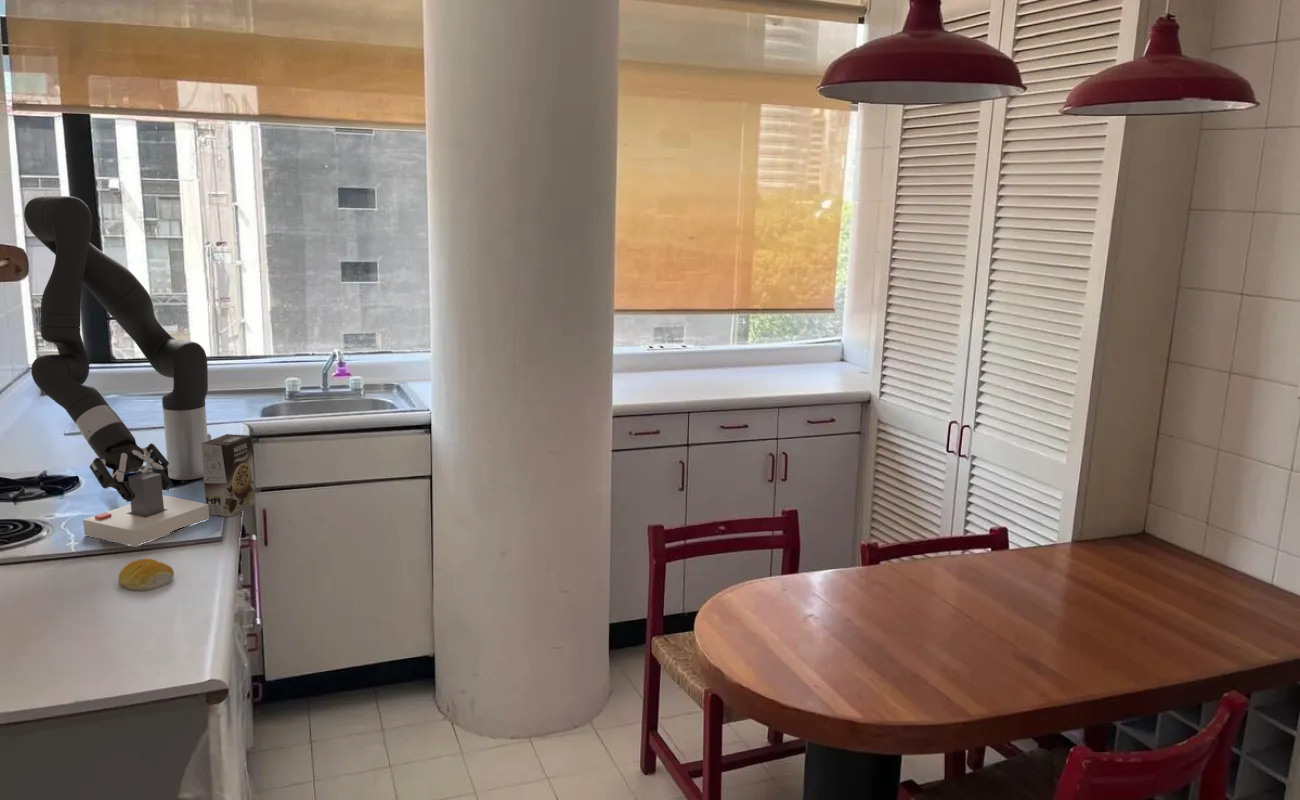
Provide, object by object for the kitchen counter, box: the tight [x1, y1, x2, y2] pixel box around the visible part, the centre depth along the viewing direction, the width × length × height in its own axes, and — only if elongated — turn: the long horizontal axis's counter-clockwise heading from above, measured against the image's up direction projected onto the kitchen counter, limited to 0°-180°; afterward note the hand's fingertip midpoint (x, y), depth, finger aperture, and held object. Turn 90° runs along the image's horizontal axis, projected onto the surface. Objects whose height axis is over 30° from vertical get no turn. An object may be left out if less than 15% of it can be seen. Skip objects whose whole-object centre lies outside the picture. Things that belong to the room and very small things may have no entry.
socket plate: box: [82, 494, 210, 548], centre depth 193 cm, size 18×14×4 cm
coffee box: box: [202, 433, 256, 518], centre depth 204 cm, size 9×6×16 cm
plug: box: [127, 471, 164, 518], centre depth 192 cm, size 4×4×10 cm
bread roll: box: [117, 558, 175, 592], centre depth 168 cm, size 8×9×4 cm
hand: (150, 493), depth 192 cm, fingers open, 8 cm apart
